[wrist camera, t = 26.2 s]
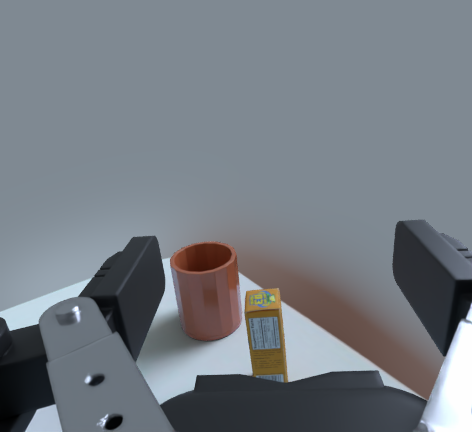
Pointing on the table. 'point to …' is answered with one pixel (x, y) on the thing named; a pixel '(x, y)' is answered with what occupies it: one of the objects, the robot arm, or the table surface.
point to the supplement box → (266, 334)
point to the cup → (207, 290)
